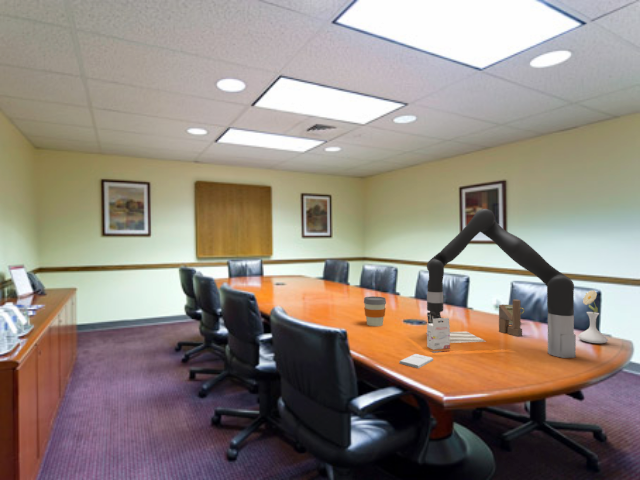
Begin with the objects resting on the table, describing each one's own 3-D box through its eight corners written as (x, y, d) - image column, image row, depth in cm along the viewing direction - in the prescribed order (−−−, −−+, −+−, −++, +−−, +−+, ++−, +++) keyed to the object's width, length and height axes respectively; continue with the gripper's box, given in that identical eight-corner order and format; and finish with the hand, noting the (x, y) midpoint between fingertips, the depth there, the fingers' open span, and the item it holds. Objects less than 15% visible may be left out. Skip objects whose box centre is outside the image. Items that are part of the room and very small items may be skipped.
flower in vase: (577, 337, 182) (577, 287, 182) (605, 340, 176) (606, 288, 176) (579, 344, 171) (579, 290, 170) (610, 347, 165) (610, 292, 165)
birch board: (486, 344, 170) (486, 341, 170) (441, 346, 167) (441, 343, 167) (466, 334, 187) (466, 331, 187) (425, 335, 185) (425, 332, 185)
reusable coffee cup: (360, 322, 214) (360, 297, 214) (379, 321, 218) (379, 295, 218) (369, 327, 202) (369, 300, 202) (389, 326, 206) (390, 299, 206)
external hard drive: (399, 364, 145) (414, 357, 154) (418, 369, 139) (433, 361, 148) (399, 360, 145) (414, 353, 154) (418, 365, 139) (433, 357, 148)
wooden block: (503, 331, 195) (503, 297, 194) (522, 335, 185) (522, 300, 185) (498, 331, 193) (498, 297, 193) (517, 336, 183) (517, 300, 183)
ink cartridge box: (443, 348, 164) (443, 315, 164) (450, 351, 160) (450, 317, 159) (426, 349, 162) (426, 316, 162) (432, 353, 157) (432, 319, 157)
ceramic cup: (501, 324, 208) (501, 307, 208) (497, 320, 218) (497, 304, 218) (527, 326, 205) (527, 308, 205) (521, 322, 215) (521, 305, 215)
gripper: (449, 303, 170) (449, 340, 170) (436, 298, 184) (436, 332, 184) (433, 303, 169) (433, 340, 169) (421, 298, 183) (421, 332, 183)
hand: (435, 336), depth 176 cm, fingers closed on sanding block, 5 cm apart
